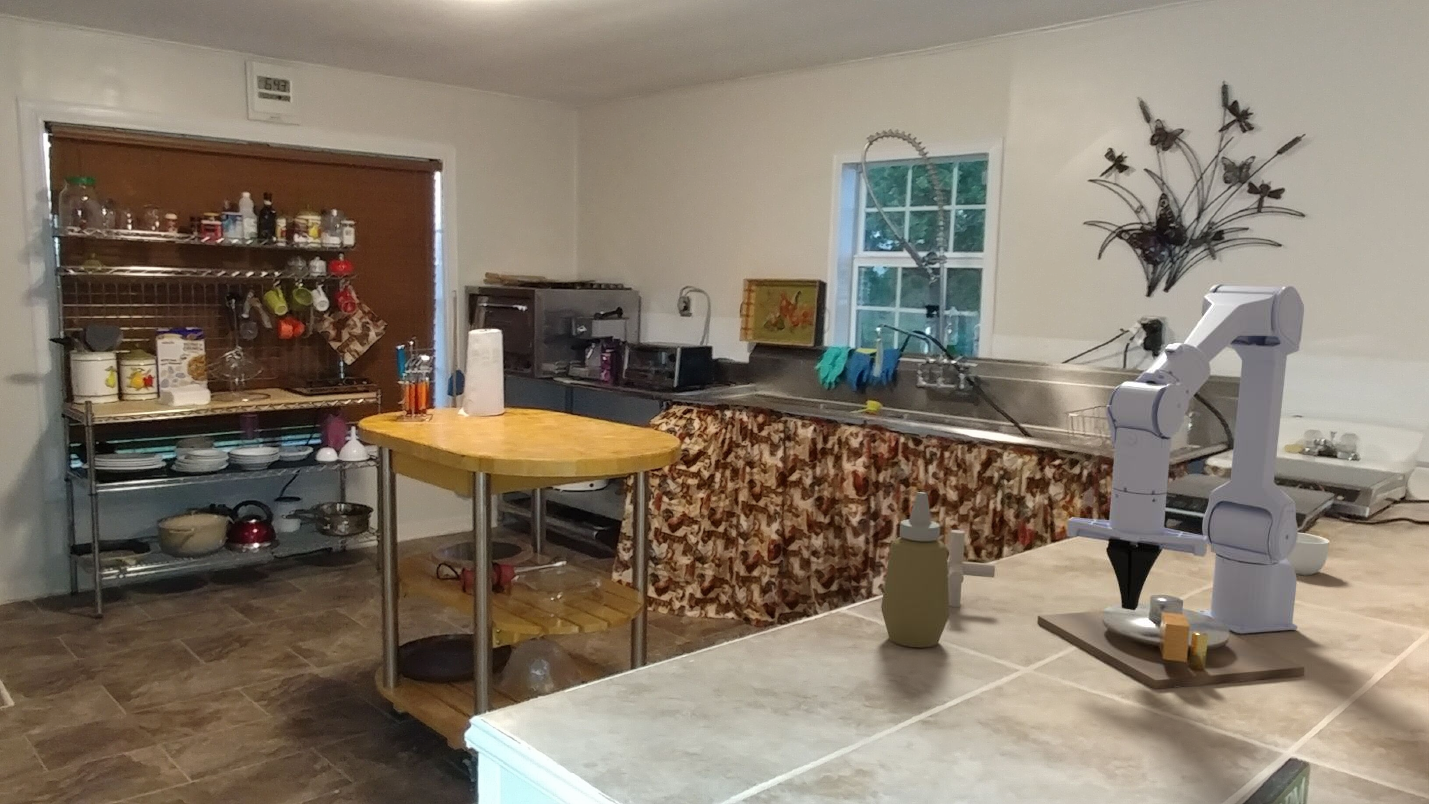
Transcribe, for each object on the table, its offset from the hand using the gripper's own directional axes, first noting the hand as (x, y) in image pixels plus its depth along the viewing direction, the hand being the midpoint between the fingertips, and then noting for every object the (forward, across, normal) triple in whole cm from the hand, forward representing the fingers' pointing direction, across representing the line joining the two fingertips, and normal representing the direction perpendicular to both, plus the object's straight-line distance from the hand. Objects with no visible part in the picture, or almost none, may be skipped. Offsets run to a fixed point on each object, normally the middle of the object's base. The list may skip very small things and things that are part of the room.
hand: (1129, 607), depth 118 cm
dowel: (+7, +7, +1) cm, 10 cm away
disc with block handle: (+5, +3, +7) cm, 9 cm away
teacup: (+8, +13, +61) cm, 63 cm away
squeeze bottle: (+7, -23, -7) cm, 25 cm away
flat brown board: (+7, +3, +9) cm, 12 cm away
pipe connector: (+7, -24, +10) cm, 27 cm away
